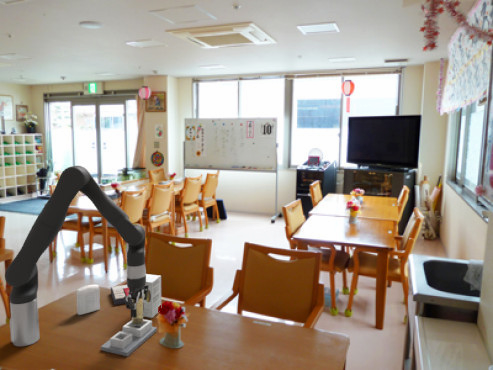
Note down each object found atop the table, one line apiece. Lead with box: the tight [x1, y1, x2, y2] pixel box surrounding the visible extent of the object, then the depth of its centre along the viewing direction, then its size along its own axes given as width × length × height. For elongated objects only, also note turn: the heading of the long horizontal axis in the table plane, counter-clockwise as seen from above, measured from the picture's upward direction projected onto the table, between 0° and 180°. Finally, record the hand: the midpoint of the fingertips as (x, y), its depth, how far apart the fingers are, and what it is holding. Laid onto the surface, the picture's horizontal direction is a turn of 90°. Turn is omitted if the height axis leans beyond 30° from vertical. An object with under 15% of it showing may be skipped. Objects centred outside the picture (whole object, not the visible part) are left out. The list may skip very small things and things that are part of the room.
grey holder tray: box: [100, 318, 158, 357], centre depth 155 cm, size 12×20×4 cm, turn 161°
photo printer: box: [76, 284, 101, 316], centre depth 178 cm, size 10×4×12 cm, turn 134°
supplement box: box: [143, 273, 162, 319], centre depth 177 cm, size 10×9×17 cm
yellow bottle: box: [131, 297, 144, 324], centre depth 158 cm, size 4×4×12 cm
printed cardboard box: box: [110, 284, 129, 306], centre depth 194 cm, size 11×4×15 cm
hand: (137, 314), depth 158 cm, fingers closed on yellow bottle, 4 cm apart
